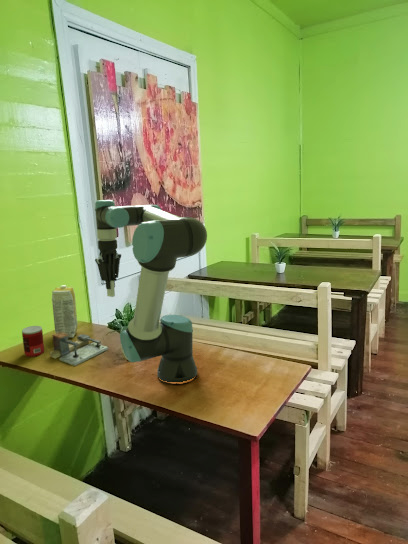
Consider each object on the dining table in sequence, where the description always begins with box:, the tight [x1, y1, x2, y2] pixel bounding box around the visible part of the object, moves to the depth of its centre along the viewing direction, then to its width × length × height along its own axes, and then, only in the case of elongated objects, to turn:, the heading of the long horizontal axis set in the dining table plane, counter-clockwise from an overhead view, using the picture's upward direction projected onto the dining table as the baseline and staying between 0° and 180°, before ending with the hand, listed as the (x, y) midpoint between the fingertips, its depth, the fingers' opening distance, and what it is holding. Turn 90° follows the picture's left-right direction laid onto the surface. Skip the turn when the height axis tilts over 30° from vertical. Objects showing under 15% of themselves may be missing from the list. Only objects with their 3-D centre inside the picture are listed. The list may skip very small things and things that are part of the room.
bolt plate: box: [59, 342, 109, 367], centre depth 169 cm, size 9×18×1 cm, turn 147°
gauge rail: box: [49, 333, 102, 359], centre depth 171 cm, size 13×18×4 cm
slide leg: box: [52, 332, 79, 357], centre depth 167 cm, size 13×4×8 cm, turn 57°
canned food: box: [21, 325, 45, 358], centre depth 169 cm, size 8×8×11 cm
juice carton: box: [51, 284, 78, 339], centre depth 186 cm, size 9×8×24 cm
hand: (111, 296), depth 166 cm, fingers closed
